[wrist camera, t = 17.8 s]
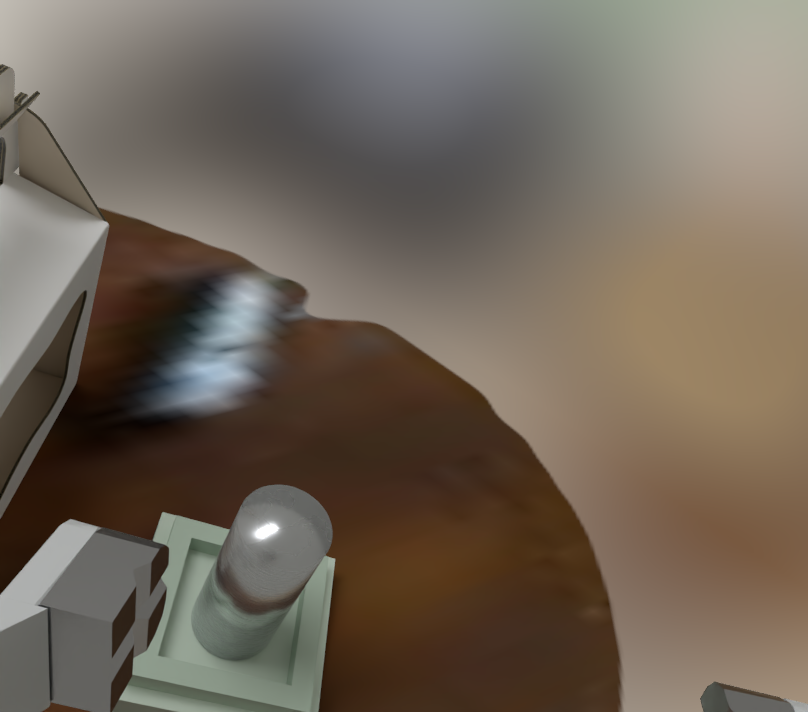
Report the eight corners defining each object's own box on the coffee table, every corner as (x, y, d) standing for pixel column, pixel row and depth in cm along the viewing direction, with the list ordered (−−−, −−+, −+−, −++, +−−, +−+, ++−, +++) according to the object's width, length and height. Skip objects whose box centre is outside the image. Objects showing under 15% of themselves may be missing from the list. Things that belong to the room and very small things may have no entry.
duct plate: (96, 708, 47) (105, 685, 45) (157, 526, 58) (166, 500, 56) (305, 751, 51) (322, 731, 49) (326, 571, 61) (341, 549, 59)
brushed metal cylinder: (181, 649, 50) (229, 553, 43) (202, 571, 55) (248, 473, 47) (267, 669, 51) (327, 579, 44) (280, 592, 56) (337, 500, 49)
